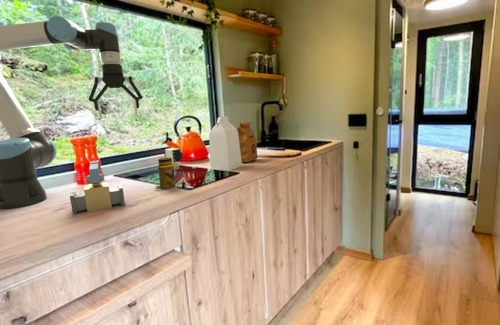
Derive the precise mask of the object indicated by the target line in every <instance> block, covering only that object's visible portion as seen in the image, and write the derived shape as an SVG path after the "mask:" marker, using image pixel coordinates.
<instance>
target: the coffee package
mask: <svg viewBox="0 0 500 325" xmlns="http://www.w3.org/2000/svg"><path fill="white" fill-rule="evenodd" d="M251 125H252V123H251V121H247V122H244V123H243V122H240V123H239V125H238V127H237V128H236V129H237V131H238V136H239V144H240V153H241V161H242V164H243V163H250V162H253V161H257V159H258V149H257V147H258V146H257V145H258V144H257V143H258V142H257V139H256V138H257V137H256V135H255V134H254V132H253V131H252V129H251Z"/></svg>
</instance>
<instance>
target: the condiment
mask: <svg viewBox="0 0 500 325" xmlns="http://www.w3.org/2000/svg"><path fill="white" fill-rule="evenodd" d="M172 163H173V162H172V158H166V157H161V158H158V166H157V169H158V172H157V173H158V178H159V179H158V180H159V185H155V188H154V192H156V191H164V190H165V191H167V190H175V189H176V190H177V189H178V188H177V187H178V186H177V184H178V183H176V176H175V170H174V165H173V164H172Z"/></svg>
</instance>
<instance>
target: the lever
mask: <svg viewBox="0 0 500 325" xmlns="http://www.w3.org/2000/svg"><path fill="white" fill-rule="evenodd" d="M100 166H101V164H100V160H92V161H89V175H87V176H86V182H87V184H92V183H99V182H100V183H103V182H105V176H104V173H101V167H100Z"/></svg>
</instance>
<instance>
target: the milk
mask: <svg viewBox="0 0 500 325" xmlns="http://www.w3.org/2000/svg"><path fill="white" fill-rule="evenodd" d="M229 121H230V120H229V117H228V116H219V117H217V121H216V124H215V125H214V126H213V127H212V129H211V130H210V132H209V134H208V136H209V158H210V159H209V162H210V166H209V168H210V170H213V169H216V171H226V170H228V172H229V171H232V170H234V169H237V167H238V168H241V167H243V163H242V161H241V153H240V144H239V136H238V131H237V129H238V128H237V127H235V126H234V125H233V124H232V123H231V122H229ZM240 166H241V167H240Z"/></svg>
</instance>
